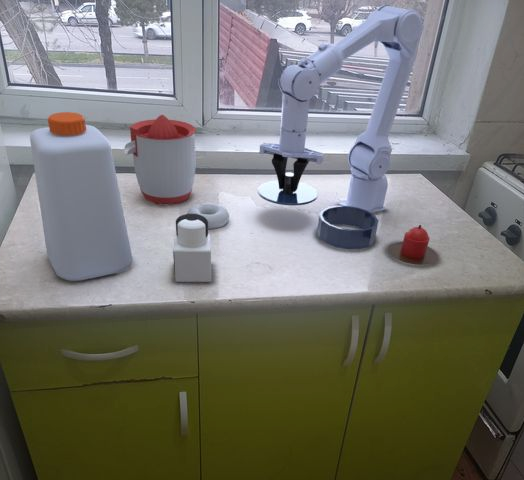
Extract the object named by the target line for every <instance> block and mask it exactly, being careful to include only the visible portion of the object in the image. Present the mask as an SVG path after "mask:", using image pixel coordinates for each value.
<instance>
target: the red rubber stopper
mask: <svg viewBox="0 0 524 480" xmlns="http://www.w3.org/2000/svg"><path fill="white" fill-rule="evenodd" d="M402 242H403V244H402V248H401V253H402V254H403V255H405V256H407V257H410V258H422V257H424V256H425V253H426V250H427V247H429V242H430V236H429V235H428V232H427V230H426V229H425V228H423V227H422V225H421V224H419V225H418V226H413V227H412V228H410V229H409V230H408V231H406V232H405V233H404V236H403V240H402Z"/></svg>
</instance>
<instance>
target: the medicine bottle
mask: <svg viewBox="0 0 524 480" xmlns="http://www.w3.org/2000/svg"><path fill="white" fill-rule="evenodd" d="M172 255H173V256H172V257H173V273H174V274H173V275H174V282H175V283H210V282H212V235H211V234H210V233H209V229H208V220H207V219H206V218H205V217H204V216H202V215H198V214H187V213H185V214H182V215H180V216H178V217H177V218H176V220H175V234H174V239H173V249H172Z"/></svg>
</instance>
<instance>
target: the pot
mask: <svg viewBox="0 0 524 480" xmlns="http://www.w3.org/2000/svg"><path fill="white" fill-rule="evenodd" d="M336 225H347V226H352V227H356V228H359V229H349V228H345V227H339V226H336ZM378 226H379V219H378V217H377V216H376V215H375V214H374V213H373V212H371V213H370V212H369V211H367V210H364V209H361V208H358V207H351V206H342V205H333V206H328V207H325V208H324V209H322V210H320V212H319V215H318V222H317V229H316V235H317V236H318V237H317V238H318V239H319V240H321V241H322V242H324V243H325V244H327V245H329V246H332V247H334V248H338V249H343V250H362V249H365V248H370V246H372V245H373V244H374V243H375V239H376V236H377V231H378Z"/></svg>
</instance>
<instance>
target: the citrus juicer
mask: <svg viewBox="0 0 524 480" xmlns="http://www.w3.org/2000/svg"><path fill="white" fill-rule="evenodd" d="M129 130H130V141H129V142H128V143H126V144H125V145H124V150H123V153H124V155H126V156H127V155H132V159H133V168H134V174H135V178H136V180H137V183H138V186H139V190H140V192H141V194H142V196H143V197H144V199H145V200H146V201H147V202H150V203H153V204H155V205H174V204H179V203H182V202H183V203H184V202H186V201H187V200H188V199H189V198H190V196H191V194H192V192H193V187H194V183H195V176H196V134H195V133H197V129H196V127H195V126H194V125H192V124H191V123H188V122H185V121H181V120H177V119H176V120H175V119H169V118H168V117H167V116H165V115H164V114H160V115H159V116H158V117H156V119H147V120H141V121H138V122H135V123H133V124H131V125H130V126H129Z"/></svg>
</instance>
